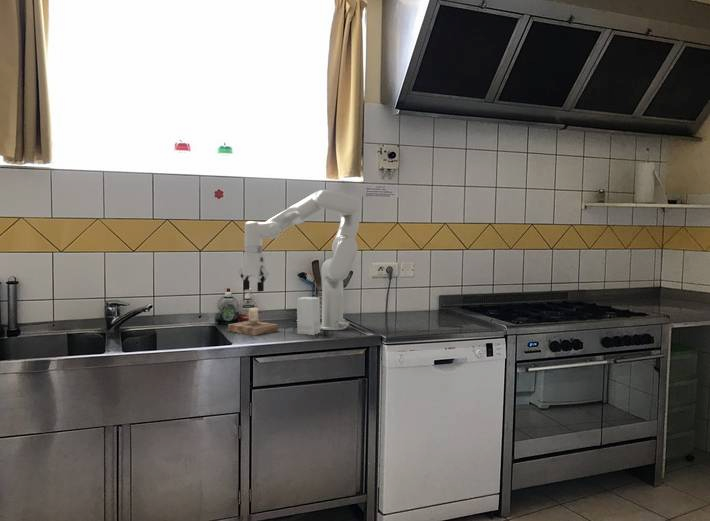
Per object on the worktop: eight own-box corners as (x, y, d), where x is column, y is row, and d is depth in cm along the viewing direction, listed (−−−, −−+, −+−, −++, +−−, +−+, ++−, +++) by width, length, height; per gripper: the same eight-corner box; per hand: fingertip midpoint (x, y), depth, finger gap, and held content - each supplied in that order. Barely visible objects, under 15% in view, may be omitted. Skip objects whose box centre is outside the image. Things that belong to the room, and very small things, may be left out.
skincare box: (320, 333, 258) (321, 297, 257) (313, 335, 252) (313, 299, 251) (303, 331, 262) (304, 296, 261) (296, 334, 256) (296, 297, 255)
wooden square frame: (277, 331, 262) (277, 324, 261) (255, 335, 250) (255, 328, 250) (251, 327, 271) (251, 320, 271) (228, 331, 259) (228, 324, 259)
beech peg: (260, 331, 261) (260, 308, 260) (253, 332, 257) (253, 309, 257) (253, 329, 263) (253, 307, 263) (246, 331, 260) (246, 308, 259)
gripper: (274, 250, 256) (274, 291, 257) (245, 249, 266) (245, 288, 267) (262, 251, 250) (262, 292, 251) (232, 249, 260) (232, 289, 261)
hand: (253, 290), depth 259 cm, fingers open, 7 cm apart
